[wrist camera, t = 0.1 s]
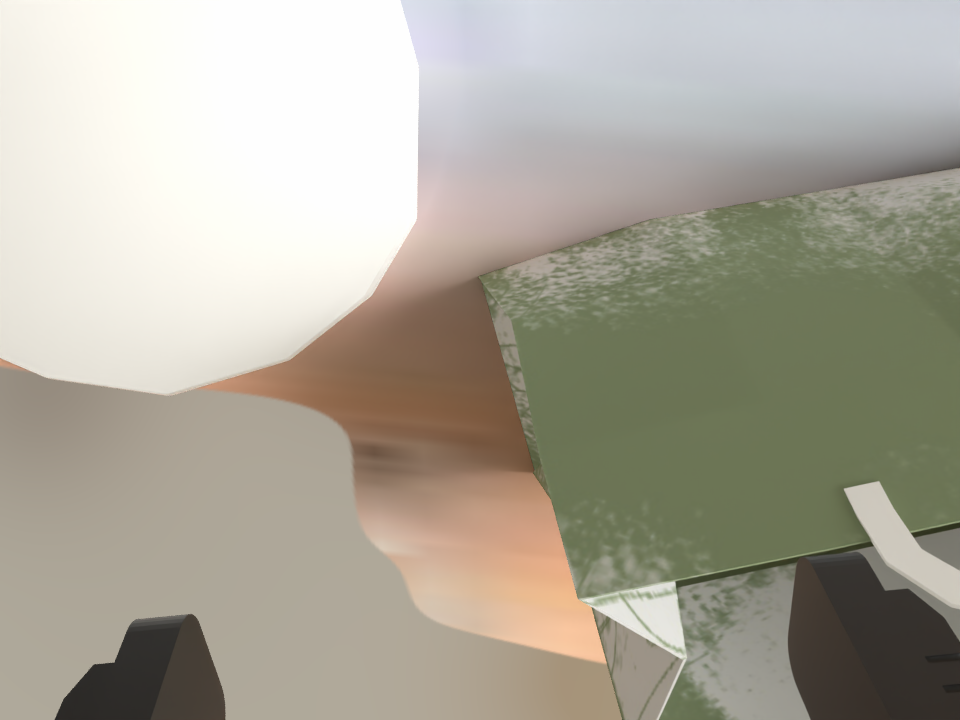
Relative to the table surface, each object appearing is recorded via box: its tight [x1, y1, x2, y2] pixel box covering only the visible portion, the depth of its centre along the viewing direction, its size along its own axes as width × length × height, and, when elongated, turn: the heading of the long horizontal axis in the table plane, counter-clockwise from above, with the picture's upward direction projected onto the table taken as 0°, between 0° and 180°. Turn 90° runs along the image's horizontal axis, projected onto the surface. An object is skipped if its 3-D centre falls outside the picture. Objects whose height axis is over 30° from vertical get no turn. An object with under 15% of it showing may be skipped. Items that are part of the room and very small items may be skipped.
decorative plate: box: [0, 0, 419, 396], centre depth 36 cm, size 25×4×25 cm
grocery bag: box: [478, 168, 960, 720], centre depth 33 cm, size 32×14×23 cm, turn 104°
